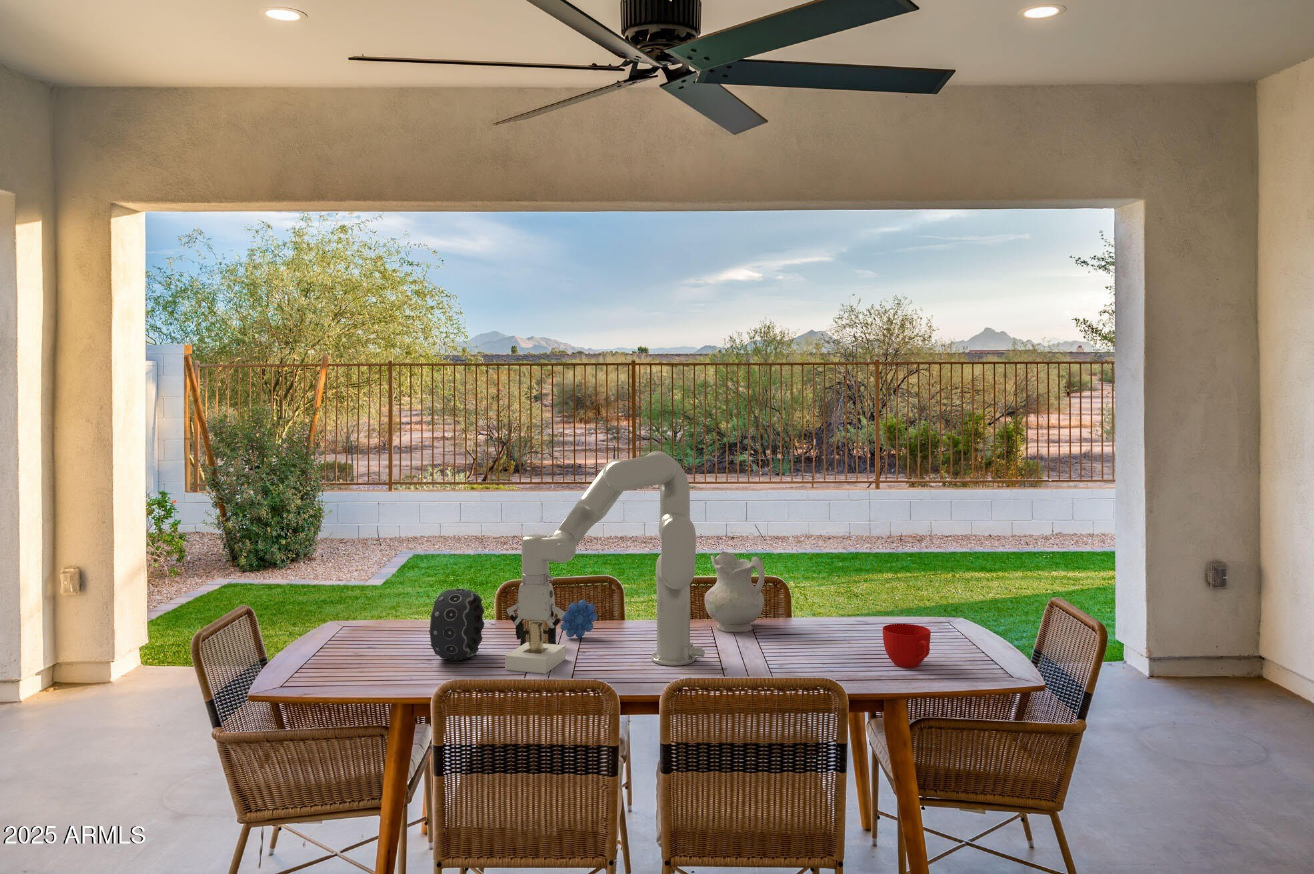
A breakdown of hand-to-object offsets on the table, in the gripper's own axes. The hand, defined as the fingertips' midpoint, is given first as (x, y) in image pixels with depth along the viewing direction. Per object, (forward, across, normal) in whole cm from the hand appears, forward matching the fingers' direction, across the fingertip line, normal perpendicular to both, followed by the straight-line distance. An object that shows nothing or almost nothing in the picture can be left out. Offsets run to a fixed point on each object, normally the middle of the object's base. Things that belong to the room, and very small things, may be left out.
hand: (535, 639), depth 240 cm
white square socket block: (+7, 0, 0) cm, 7 cm away
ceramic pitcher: (+7, -47, -54) cm, 72 cm away
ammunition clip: (+7, +7, -17) cm, 20 cm away
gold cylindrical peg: (+7, 0, 0) cm, 7 cm away
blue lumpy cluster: (+7, -1, -30) cm, 31 cm away
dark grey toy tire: (+7, +24, +1) cm, 25 cm away
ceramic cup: (+7, -101, -27) cm, 105 cm away
